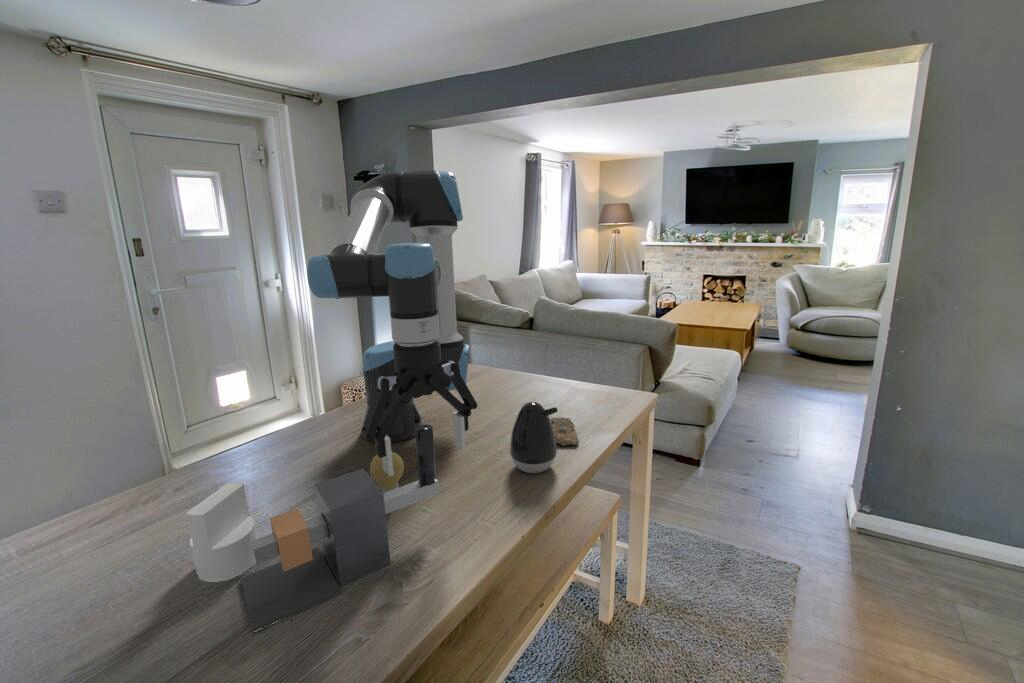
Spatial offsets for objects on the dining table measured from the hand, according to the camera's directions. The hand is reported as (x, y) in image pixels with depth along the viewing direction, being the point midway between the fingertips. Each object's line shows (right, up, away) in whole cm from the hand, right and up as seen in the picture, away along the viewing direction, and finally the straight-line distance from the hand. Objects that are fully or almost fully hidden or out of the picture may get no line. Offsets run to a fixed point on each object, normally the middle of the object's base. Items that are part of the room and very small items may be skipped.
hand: (426, 460), depth 83 cm
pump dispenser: (+20, -7, +23) cm, 31 cm away
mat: (-19, -17, -10) cm, 27 cm away
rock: (+27, -4, +36) cm, 45 cm away
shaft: (-10, -8, -6) cm, 15 cm away
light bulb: (-9, -11, +12) cm, 19 cm away
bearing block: (-11, -15, -4) cm, 19 cm away
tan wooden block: (-18, -12, -11) cm, 24 cm away
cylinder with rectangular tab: (-31, -16, -4) cm, 35 cm away
